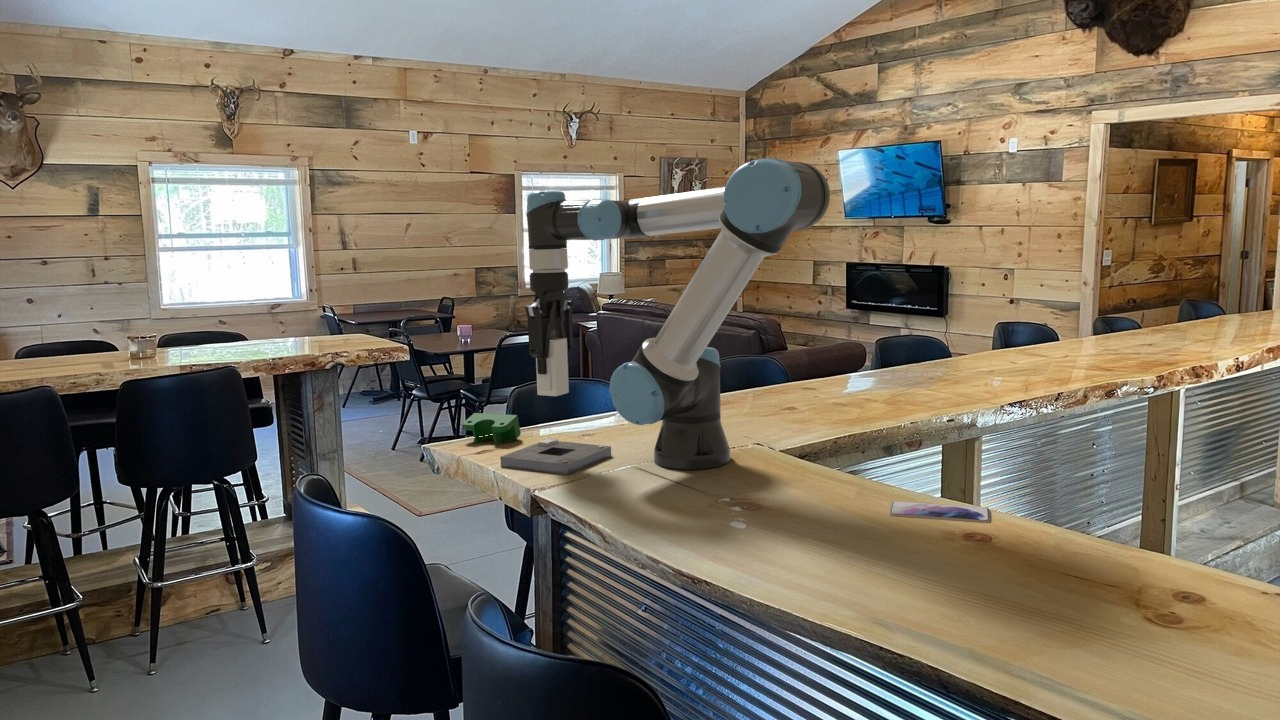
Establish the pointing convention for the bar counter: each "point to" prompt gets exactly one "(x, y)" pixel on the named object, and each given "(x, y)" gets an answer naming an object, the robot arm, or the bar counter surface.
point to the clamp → (493, 427)
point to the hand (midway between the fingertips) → (553, 387)
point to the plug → (557, 366)
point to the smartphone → (940, 511)
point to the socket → (556, 456)
